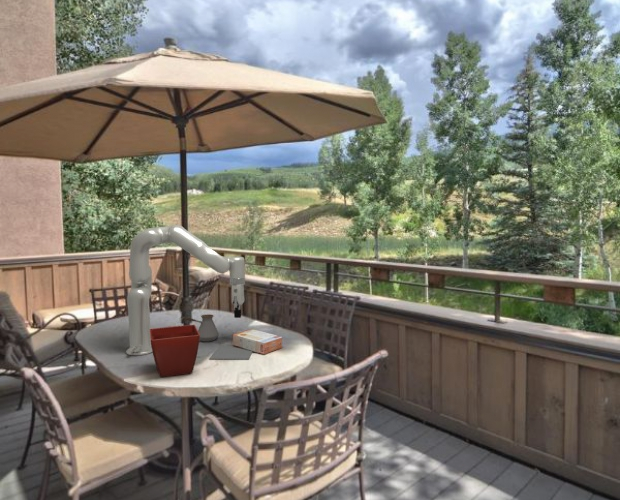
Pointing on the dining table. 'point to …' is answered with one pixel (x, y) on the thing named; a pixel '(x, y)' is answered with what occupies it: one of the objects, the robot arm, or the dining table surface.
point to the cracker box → (257, 341)
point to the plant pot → (175, 349)
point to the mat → (230, 353)
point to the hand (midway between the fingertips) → (237, 317)
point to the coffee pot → (206, 328)
